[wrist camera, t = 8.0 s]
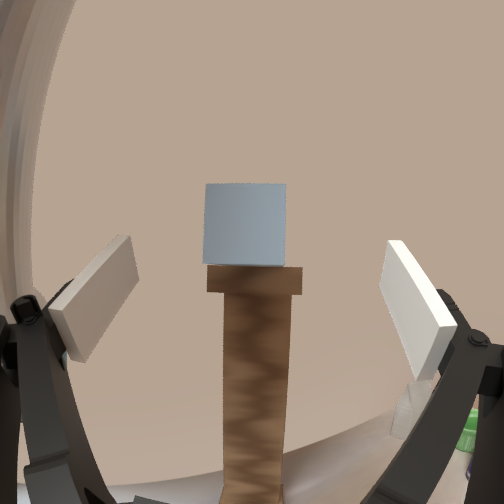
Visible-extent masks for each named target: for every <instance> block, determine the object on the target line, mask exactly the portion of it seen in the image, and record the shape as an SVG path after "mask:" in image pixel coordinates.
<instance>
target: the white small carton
mask: <svg viewBox="0 0 504 504" xmlns="http://www.w3.org/2000/svg"><path fill="white" fill-rule="evenodd" d="M431 395H432V388H431V384H430V380H424V381H415V382H412V383H410V384H408V385H407V387H406V390H405V392H404V394H403V395H402V397H401V399H400V400H399V402H398V403H397V405H396V409H395V414H394V420H393V425H392V430H391V435H392V436H394V437H397V438H399V439H402V440H404V441H405V440H406V439H407V437H408V435H409V434H410V432H411V430H412V429H413V427H414V425H415V424H416V422H417V420H418V419H419V417H420V415H421V413H422V412H423V410H424V408H425V406H426V404H427V402H428V401H429V399H430V397H431Z"/></svg>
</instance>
